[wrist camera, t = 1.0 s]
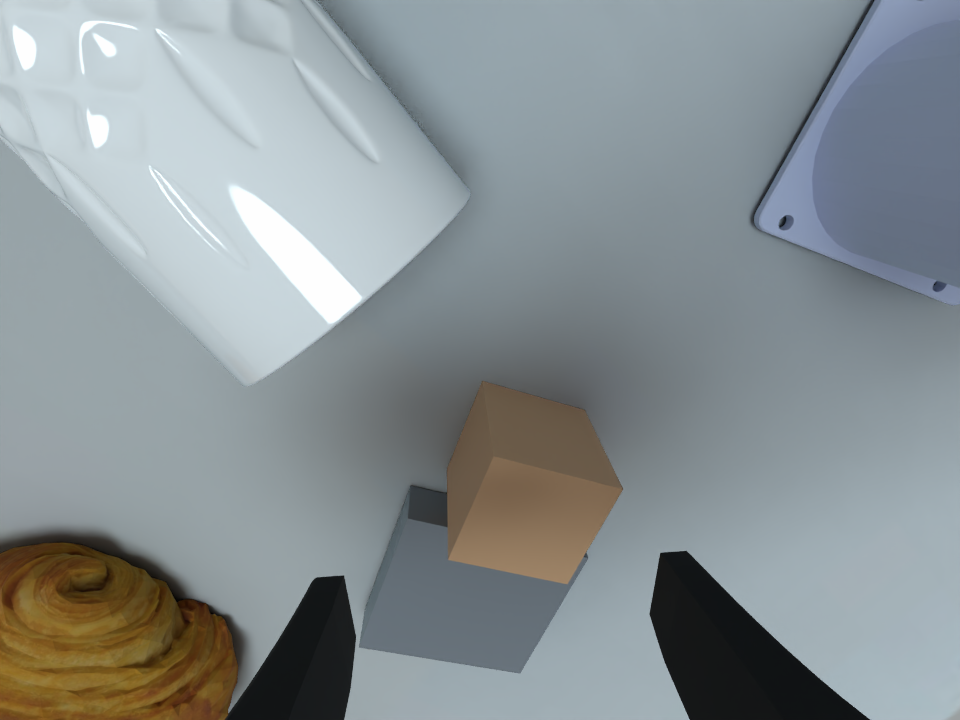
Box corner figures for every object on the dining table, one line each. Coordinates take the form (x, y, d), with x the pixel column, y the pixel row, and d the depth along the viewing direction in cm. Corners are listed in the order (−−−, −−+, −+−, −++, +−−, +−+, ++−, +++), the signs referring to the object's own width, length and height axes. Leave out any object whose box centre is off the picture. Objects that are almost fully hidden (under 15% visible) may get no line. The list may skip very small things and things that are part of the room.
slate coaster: (576, 524, 23) (588, 558, 22) (514, 636, 27) (520, 673, 25) (410, 485, 22) (407, 518, 20) (365, 609, 25) (359, 647, 23)
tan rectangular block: (584, 409, 21) (623, 489, 16) (542, 491, 23) (567, 584, 18) (482, 380, 20) (493, 456, 15) (447, 468, 22) (448, 560, 17)
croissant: (-71, 634, 27) (-270, 831, 20) (6, 476, 20) (-247, 686, 14) (182, 730, 31) (91, 919, 24) (312, 625, 25) (238, 841, 18)
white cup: (218, -302, 10) (522, 152, 13) (161, -5, 16) (378, 252, 19) (-373, -332, 5) (314, 360, 9) (-135, 94, 11) (214, 402, 15)
